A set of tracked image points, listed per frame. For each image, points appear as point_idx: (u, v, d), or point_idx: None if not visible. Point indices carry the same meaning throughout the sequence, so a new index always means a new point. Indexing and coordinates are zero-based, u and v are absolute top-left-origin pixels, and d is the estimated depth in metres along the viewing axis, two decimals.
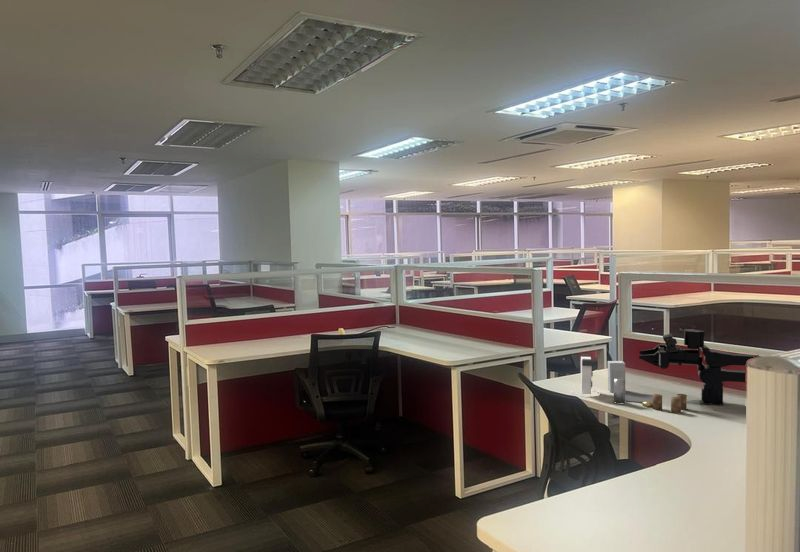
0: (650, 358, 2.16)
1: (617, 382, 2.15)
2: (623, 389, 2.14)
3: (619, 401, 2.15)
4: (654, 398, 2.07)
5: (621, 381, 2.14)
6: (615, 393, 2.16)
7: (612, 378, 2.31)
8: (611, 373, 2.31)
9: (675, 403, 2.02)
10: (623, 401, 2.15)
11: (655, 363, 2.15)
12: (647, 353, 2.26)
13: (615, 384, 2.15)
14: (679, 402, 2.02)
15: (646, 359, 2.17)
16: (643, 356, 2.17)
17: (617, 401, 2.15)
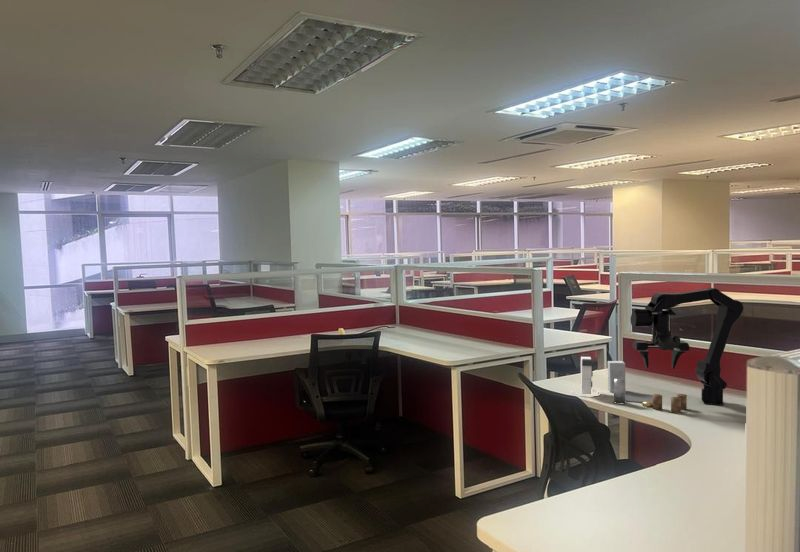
0: None
1: (617, 382, 2.15)
2: (623, 389, 2.14)
3: (619, 401, 2.15)
4: (654, 398, 2.07)
5: (621, 381, 2.14)
6: (615, 393, 2.16)
7: (612, 378, 2.31)
8: (611, 373, 2.31)
9: (675, 403, 2.02)
10: (623, 401, 2.15)
11: None
12: None
13: (615, 384, 2.15)
14: (679, 402, 2.02)
15: None
16: None
17: (617, 401, 2.15)
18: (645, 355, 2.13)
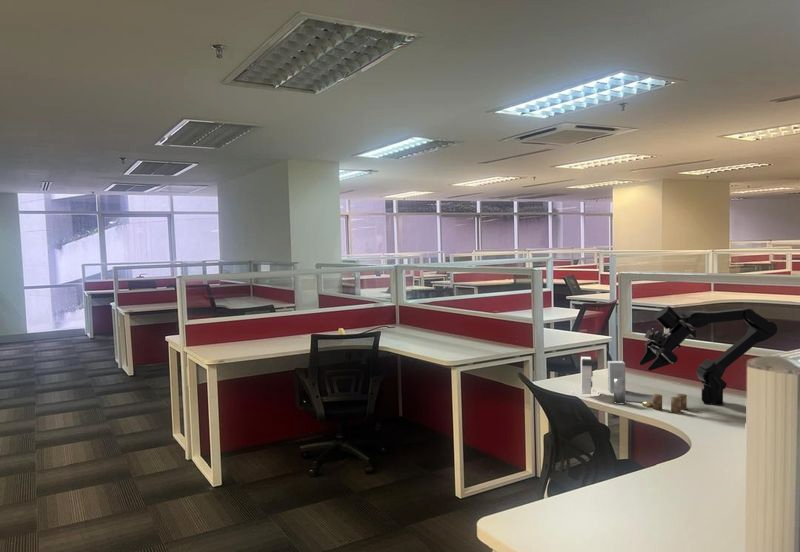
0: (657, 363, 2.09)
1: (617, 382, 2.15)
2: (623, 389, 2.14)
3: (619, 401, 2.15)
4: (654, 398, 2.07)
5: (621, 381, 2.14)
6: (615, 393, 2.16)
7: (612, 378, 2.31)
8: (611, 373, 2.31)
9: (675, 403, 2.02)
10: (623, 401, 2.15)
11: (665, 363, 2.08)
12: (646, 359, 2.19)
13: (615, 384, 2.15)
14: (679, 402, 2.02)
15: (655, 366, 2.09)
16: (651, 366, 2.10)
17: (617, 401, 2.15)
18: (645, 351, 2.20)
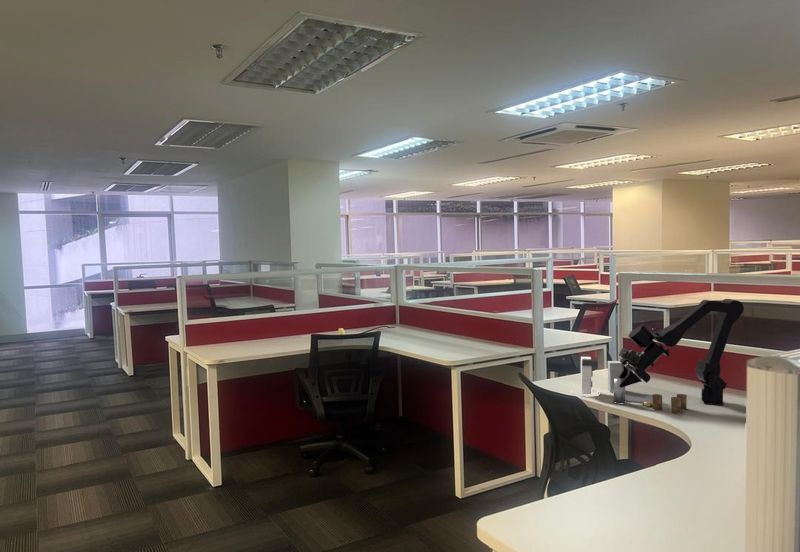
0: (629, 380, 2.12)
1: (617, 382, 2.15)
2: (623, 389, 2.14)
3: (619, 401, 2.15)
4: (654, 398, 2.07)
5: (621, 381, 2.14)
6: (615, 393, 2.16)
7: (612, 378, 2.31)
8: (611, 373, 2.31)
9: (675, 403, 2.02)
10: (623, 401, 2.15)
11: (636, 380, 2.12)
12: None
13: (615, 384, 2.15)
14: (679, 402, 2.02)
15: (627, 383, 2.13)
16: (622, 383, 2.13)
17: (617, 401, 2.15)
18: (622, 370, 2.19)
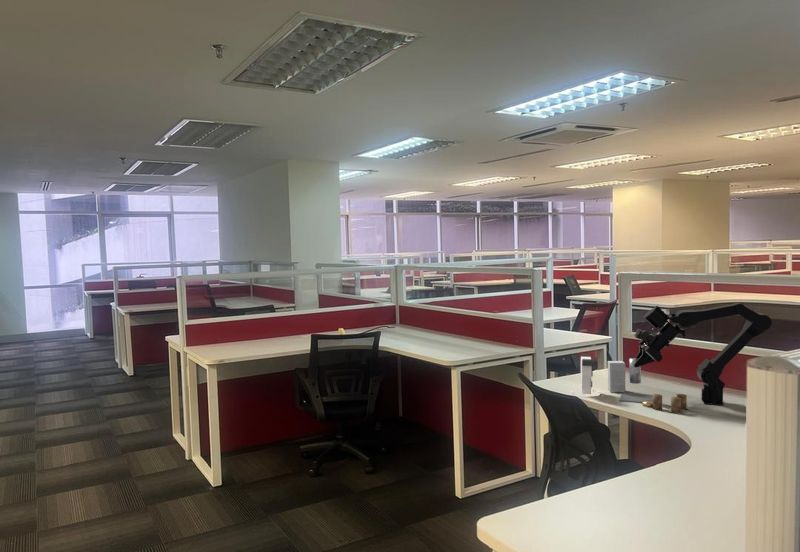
0: (643, 360, 2.16)
1: (632, 362, 2.19)
2: (638, 369, 2.18)
3: (634, 381, 2.18)
4: (654, 398, 2.07)
5: (635, 361, 2.18)
6: (630, 373, 2.20)
7: (612, 378, 2.31)
8: (611, 373, 2.31)
9: (675, 403, 2.02)
10: (638, 381, 2.18)
11: (650, 360, 2.15)
12: None
13: (630, 364, 2.19)
14: (679, 402, 2.02)
15: (641, 363, 2.16)
16: (637, 363, 2.17)
17: (632, 381, 2.19)
18: (639, 351, 2.22)
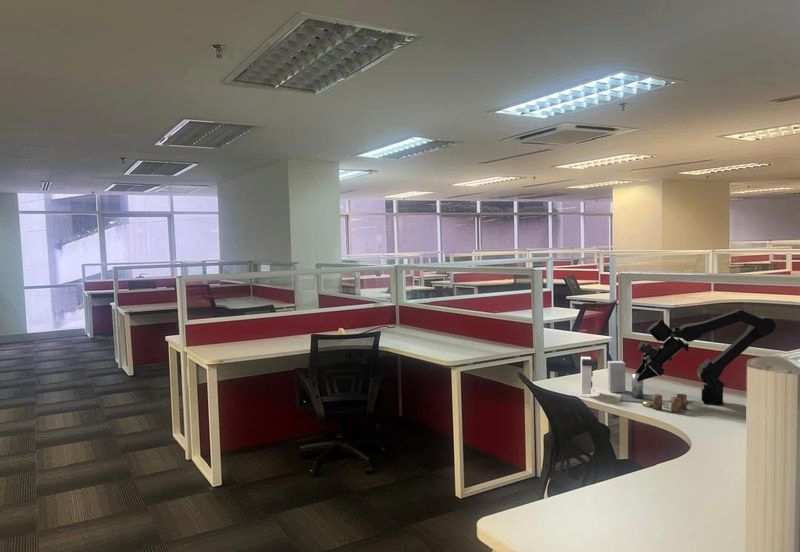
0: (646, 374, 2.15)
1: (635, 377, 2.20)
2: (640, 384, 2.19)
3: (636, 396, 2.20)
4: (654, 398, 2.07)
5: None
6: (632, 388, 2.21)
7: (612, 378, 2.31)
8: (611, 373, 2.31)
9: (675, 403, 2.02)
10: (640, 396, 2.19)
11: (653, 374, 2.14)
12: (641, 370, 2.24)
13: (633, 379, 2.21)
14: (679, 402, 2.02)
15: (644, 377, 2.16)
16: (639, 377, 2.16)
17: (634, 396, 2.20)
18: None
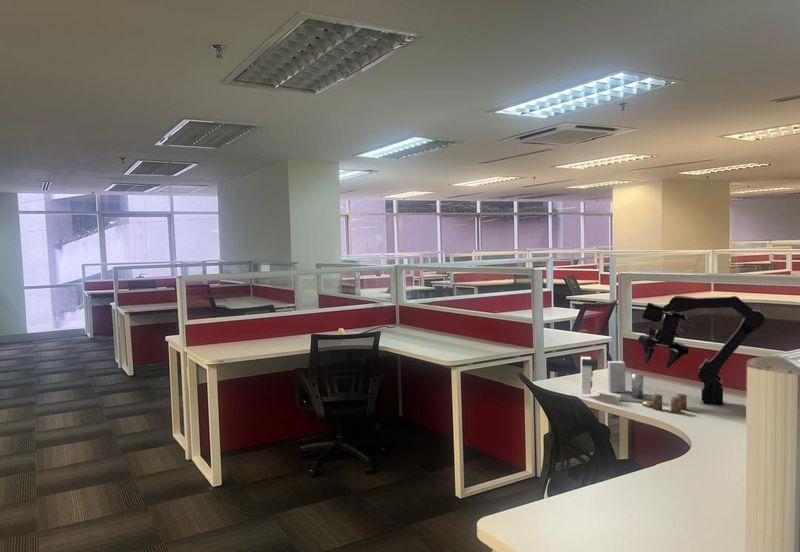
0: (646, 353, 2.20)
1: (634, 378, 2.20)
2: (640, 384, 2.19)
3: (636, 396, 2.20)
4: (654, 398, 2.07)
5: (638, 376, 2.19)
6: (632, 388, 2.21)
7: (612, 378, 2.31)
8: (611, 373, 2.31)
9: (675, 403, 2.02)
10: (640, 396, 2.20)
11: (648, 350, 2.18)
12: (669, 360, 2.22)
13: (632, 379, 2.21)
14: (679, 402, 2.02)
15: (646, 357, 2.20)
16: (645, 358, 2.22)
17: (634, 396, 2.20)
18: None
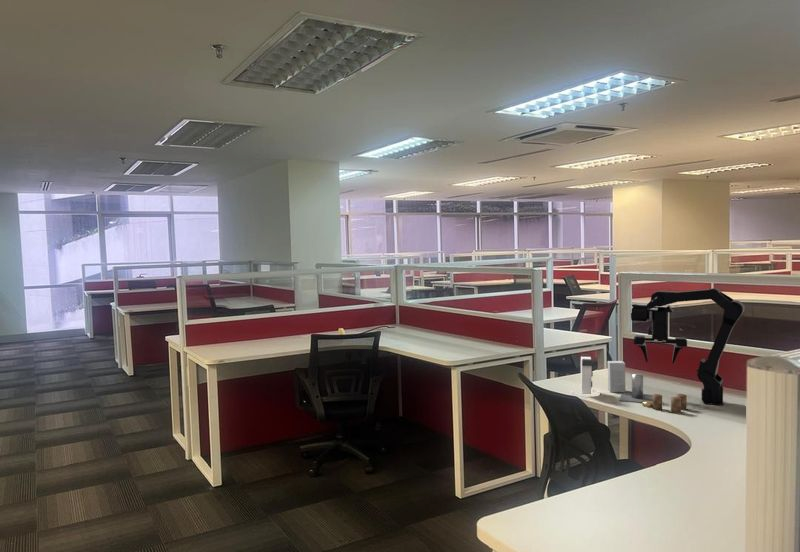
0: None
1: (634, 378, 2.20)
2: (640, 384, 2.19)
3: (636, 396, 2.20)
4: (654, 398, 2.07)
5: (638, 376, 2.19)
6: (632, 388, 2.21)
7: (612, 378, 2.31)
8: (611, 373, 2.31)
9: (675, 403, 2.02)
10: (640, 396, 2.20)
11: None
12: None
13: (632, 379, 2.21)
14: (679, 402, 2.02)
15: (644, 355, 2.25)
16: None
17: (634, 396, 2.20)
18: None
